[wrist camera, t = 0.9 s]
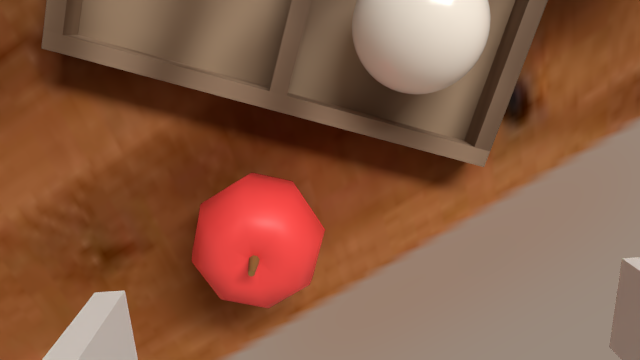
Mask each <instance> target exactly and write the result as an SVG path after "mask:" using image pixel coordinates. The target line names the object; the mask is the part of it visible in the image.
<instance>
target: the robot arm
mask: <svg viewBox="0 0 640 360" xmlns="http://www.w3.org/2000/svg"><path fill="white" fill-rule="evenodd" d="M609 347H610V348H611V349H612V350H613V351H614V352H615V353H616V354H617V355H618V356H619V357H620V358H621V359H622V360H640V257H636V258H622V262H621V269H620V276H619V284H618V291H617V297H616V304H615V311H614V318H613V325H612V332H611V339H610V346H609ZM42 360H138V358H137V353H136V348H135V342H134V337H133V332H132V326H131V321H130V316H129V310H128V305H127V300H126V295H125V291H112V292H96V293H94V294H93V296H92V297H91V298H90V300H89V301H88V302H87V303H86V305H85V306H84V307H83V308H82V310H81V311H80V312H79V314H78V315H77V316H76V317H75V319H74V320H73V321H72V322H71V324H70V325H69V326H68V328H67V329H66V330H65V331H64V333H63V334H62V335H61V336H60V338H59V339H58V340H57V341H56V343H55V344H54V345H53V347H52V348H51V349H50V350H49V352H48V353H47V354H46V355H45V357H44V358H43V359H42Z"/></svg>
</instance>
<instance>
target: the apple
mask: <svg viewBox="0 0 640 360" xmlns="http://www.w3.org/2000/svg"><path fill="white" fill-rule="evenodd" d="M324 231H325V229H324V227H323V226H322V224H321V223H320V221H319V220H318V218H317V217H316V215H315V214H314V212H313V211H312V209H311V208H310V206H309V205H308V203H307V202H306V200H305V199H304V197H303V196H302V194H301V193H300V192H299V190H298V189H297V187H296V186H295V184H294V183H293V181H289V180H284V179H280V178H275V177H270V176H266V175H261V174H256V173H250V174H248V175H247V176H245V177H243V178H242V179H240V180H239V181H237V182H235V183H234V184H232V185H230V186H229V187H227V188H226V189H224V190H222V191H221V192H219V193H218V194H216V195H214V196H213V197H211V198H209V199H208V200H206V201H205V202H203V203H201V205H200V211H199V216H198V222H197V228H196V233H195V239H194V245H193V251H192V263H193V264H194V266H195V267H196V268H197V269H198V271H199V272H200V273H201V275H202V276H203V277H204V278H205V280H206V281H207V282H208V284H209V285H210V286H211V287H212V289H213V290H214V291H215V293H216V294H217V295H218V296H219V298H220V299H222V300H227V301H232V302H238V303H243V304H248V305H254V306H259V307H264V308H270V307H272V306H274V305H275V304H277V303H279V302H281V301H282V300H284V299H286V298H287V297H289V296H291V295H293V294H294V293H296V292H298V291H300V290H301V289H303V288H305V287H307V286H308V285H310V282H311V280H312V277H313V274H314V270H315V266H316V263H317V259H318V255H319V251H320V247H321V243H322V239H323V235H324Z"/></svg>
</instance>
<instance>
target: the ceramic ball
mask: <svg viewBox="0 0 640 360" xmlns="http://www.w3.org/2000/svg"><path fill="white" fill-rule="evenodd" d="M490 18H491V17H490V7H489V2H488V0H357V2H356V5H355V8H354V13H353V18H352V37H353V43H354V46H355V50H356V53H357V55H358V57H359V59H360V61H361V63H362V64H363V66H364V68H365V69H366V70H367V71H368V73H369V74H370V75H371V76H372V77H373V78H374V79H375V80H377V81H378V82H379V83H381V84H382V85H384V86H386V87H388V88H390V89H392V90H395V91H398V92H402V93H407V94H428V93H433V92H436V91H439V90H442V89H445V88H447V87H449V86H451V85H453V84H454V83H456V82H457V81H459V80H460V79H461V78H463V77H464V76H465V75H466V74H467V73H468V72H469V71H470V70H471V69H472V68H473V66H474V65H475V64H476V62H477V61H478V59H479V58H480V56H481V54H482V52H483V50H484V48H485V45H486V43H487V39H488V36H489V30H490Z"/></svg>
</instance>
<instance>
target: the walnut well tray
mask: <svg viewBox="0 0 640 360" xmlns="http://www.w3.org/2000/svg"><path fill="white" fill-rule="evenodd" d="M547 1H548V0H488V2H489V7H490V17H491V18H490V30H489V36H488V39H487V43H486V45H485V48H484V50H483V52H482V54H481V56H480V58H479V59H478V61H477V62H476V64H475V65H474V66H473V68H472V69H471V70H470V71H469V72H468V73H467V74H466V75H465V76H464V77H463V78H461V79H460V80H459V81H457V82H456V83H454V84H453V85H451V86H449V87H447V88H445V89H442V90H439V91H436V92H433V93H428V94H407V93H402V92H398V91H395V90H392V89H390V88H388V87H386V86H384V85H382V84H381V83H379V82H378V81H377V80H375V79H374V78H373V77H372V76H371V75H370V74H369V73H368V71H367V70H366V69H365V68H364V66H363V64H362V63H361V61H360V59H359V57H358V55H357V53H356V50H355V46H354V43H353V37H352V18H353V13H354V8H355V5H356V2H357V0H47V3H46V12H45V21H44V30H43V39H42V49H46V50H50V51H53V52H57V53H61V54H65V55H68V56H72V57H76V58H79V59H83V60H87V61H91V62H94V63H98V64H102V65H105V66H109V67H113V68H117V69H120V70H124V71H128V72H132V73H135V74H139V75H143V76H146V77H150V78H154V79H158V80H161V81H165V82H169V83H173V84H176V85H180V86H184V87H187V88H191V89H195V90H199V91H202V92H206V93H210V94H214V95H217V96H221V97H225V98H228V99H232V100H236V101H240V102H243V103H247V104H251V105H255V106H258V107H262V108H266V109H269V110H273V111H277V112H281V113H284V114H288V115H292V116H295V117H299V118H303V119H307V120H310V121H314V122H318V123H322V124H325V125H329V126H333V127H336V128H340V129H344V130H348V131H351V132H355V133H359V134H363V135H366V136H370V137H374V138H377V139H381V140H385V141H389V142H392V143H396V144H400V145H404V146H407V147H411V148H415V149H418V150H422V151H426V152H430V153H433V154H437V155H441V156H444V157H448V158H452V159H456V160H459V161H463V162H467V163H471V164H474V165H478V166H482V167H484V166H485V163H486V161H487V158H488V155H489V153H490V150H491V148H492V145H493V142H494V140H495V137H496V135H497V132H498V129H499V127H500V124H501V121H502V119H503V116H504V114H505V111H506V108H507V106H508V103H509V100H510V98H511V95H512V93H513V90H514V87H515V85H516V82H517V80H518V77H519V74H520V72H521V69H522V66H523V64H524V61H525V59H526V56H527V53H528V51H529V48H530V46H531V43H532V40H533V38H534V35H535V32H536V30H537V27H538V25H539V22H540V19H541V17H542V14H543V11H544V9H545V6H546V4H547Z"/></svg>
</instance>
